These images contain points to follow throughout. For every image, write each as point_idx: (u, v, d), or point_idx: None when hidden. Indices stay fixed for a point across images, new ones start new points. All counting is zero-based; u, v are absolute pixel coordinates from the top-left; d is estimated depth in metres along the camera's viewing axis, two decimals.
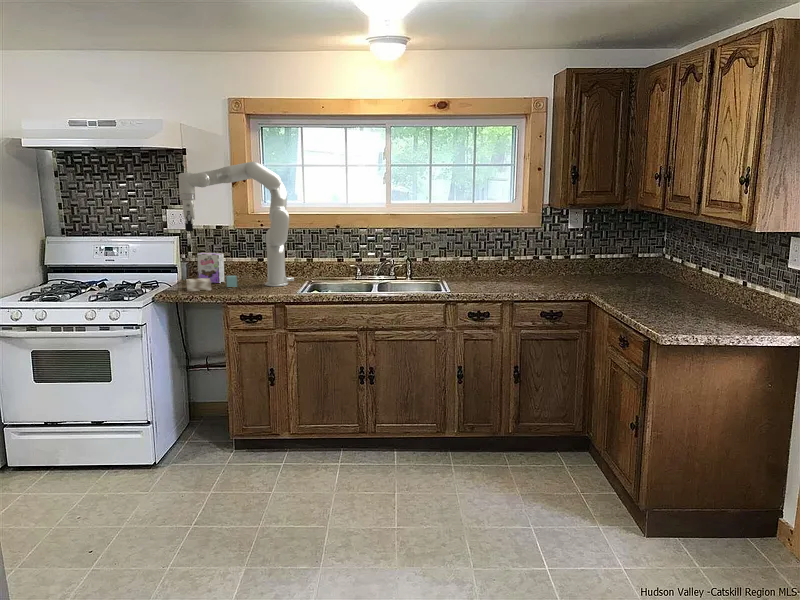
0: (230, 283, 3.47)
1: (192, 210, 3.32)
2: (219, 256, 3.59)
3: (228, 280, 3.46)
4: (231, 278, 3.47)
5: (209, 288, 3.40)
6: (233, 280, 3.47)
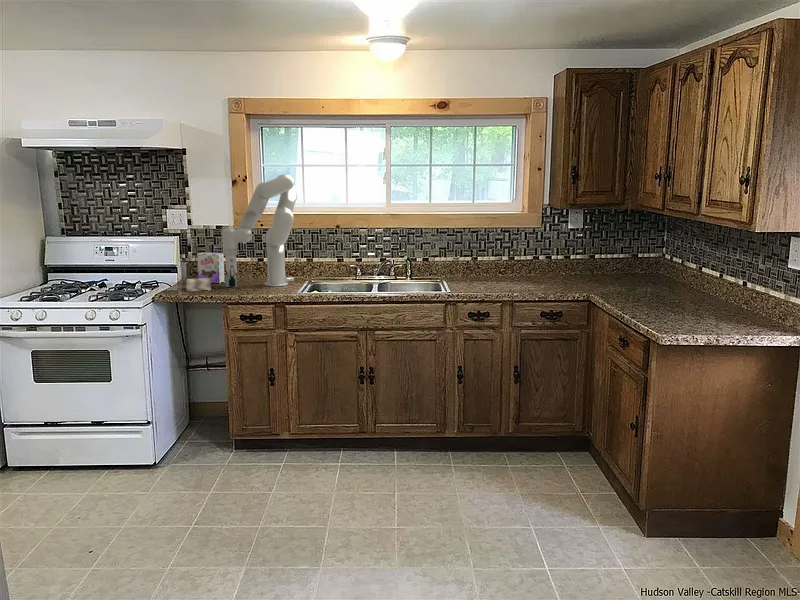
0: None
1: (235, 265, 3.44)
2: (219, 256, 3.59)
3: (228, 280, 3.46)
4: None
5: (208, 288, 3.40)
6: None
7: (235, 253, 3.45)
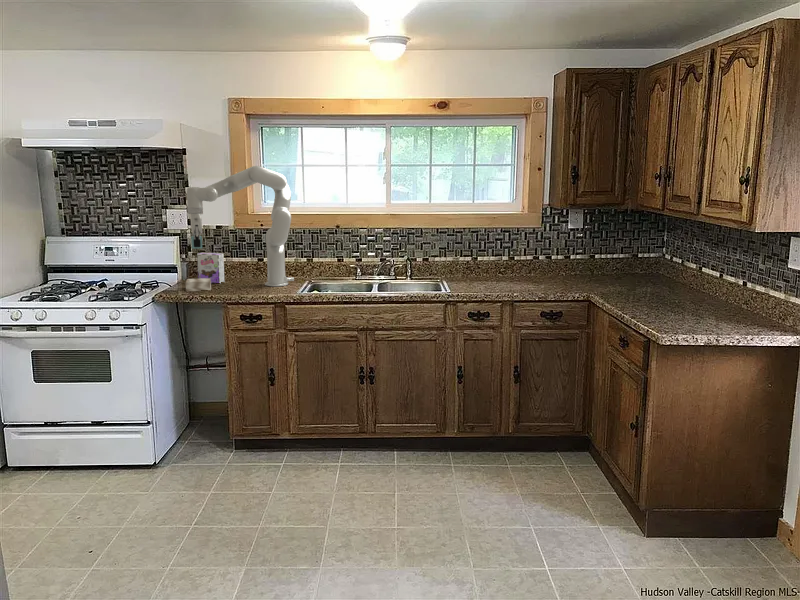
0: None
1: (200, 224, 3.34)
2: (219, 256, 3.59)
3: (193, 240, 3.36)
4: None
5: (208, 288, 3.39)
6: None
7: (200, 212, 3.35)
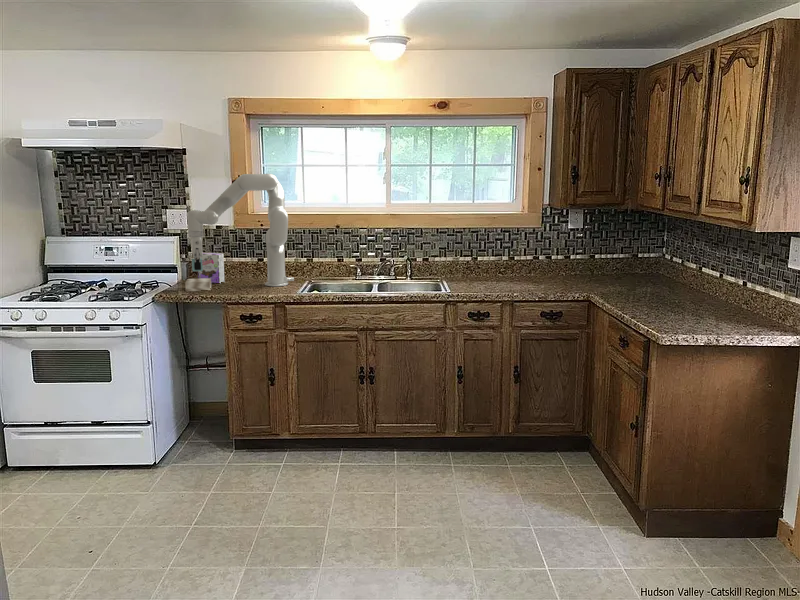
0: None
1: (200, 247, 3.36)
2: (219, 256, 3.59)
3: (193, 263, 3.39)
4: None
5: (207, 288, 3.39)
6: None
7: (201, 235, 3.37)
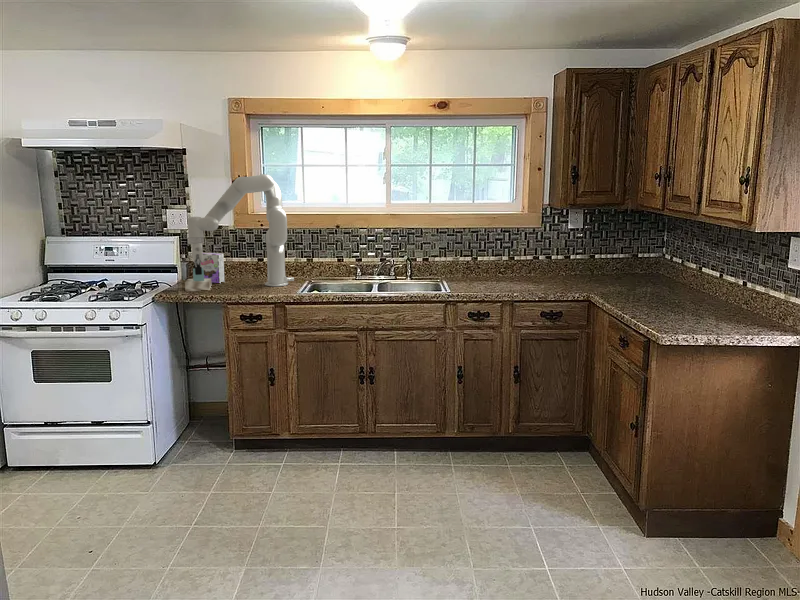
0: (197, 276, 3.40)
1: (201, 254, 3.37)
2: (219, 256, 3.59)
3: None
4: None
5: (207, 289, 3.39)
6: None
7: (201, 242, 3.38)
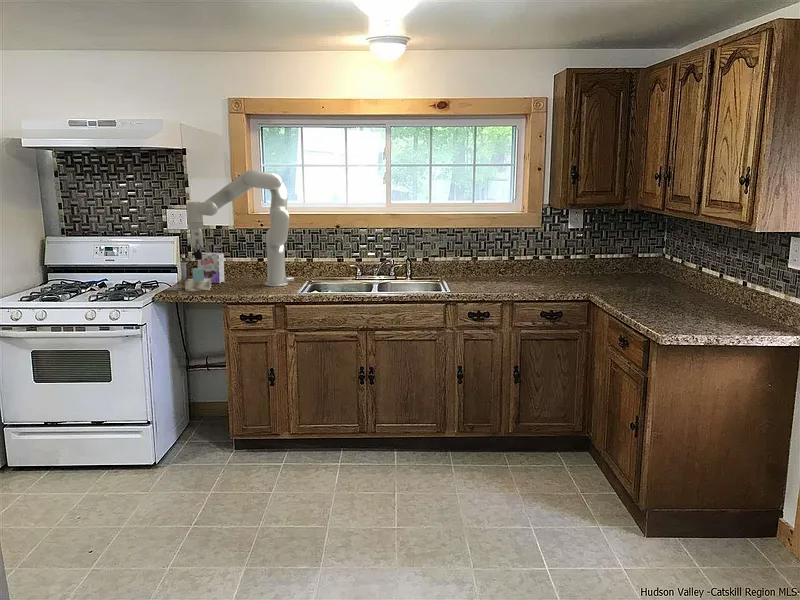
0: (197, 276, 3.40)
1: (201, 238, 3.35)
2: (219, 256, 3.59)
3: (194, 273, 3.40)
4: (198, 271, 3.40)
5: (207, 288, 3.39)
6: (200, 273, 3.41)
7: (200, 227, 3.36)
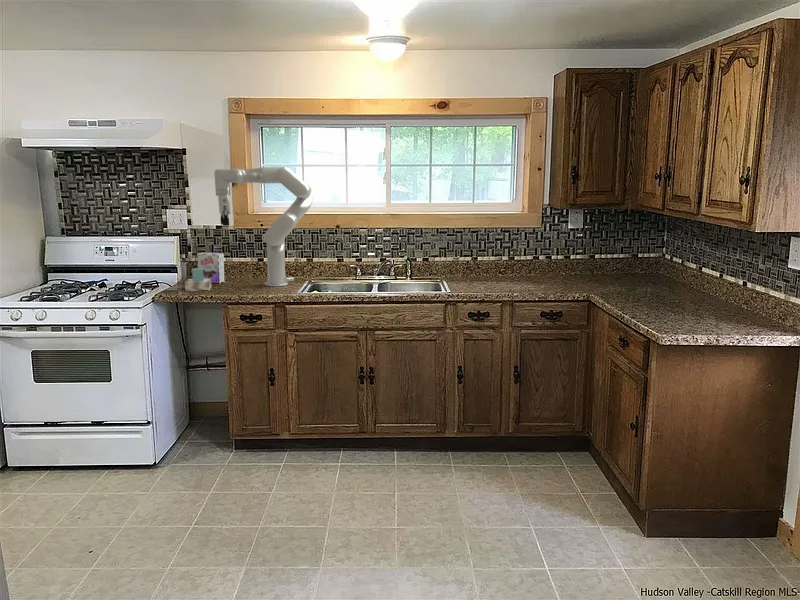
0: (196, 276, 3.40)
1: (228, 205, 3.45)
2: (219, 256, 3.59)
3: (194, 273, 3.39)
4: (197, 271, 3.40)
5: (207, 288, 3.39)
6: (199, 273, 3.41)
7: (228, 193, 3.46)
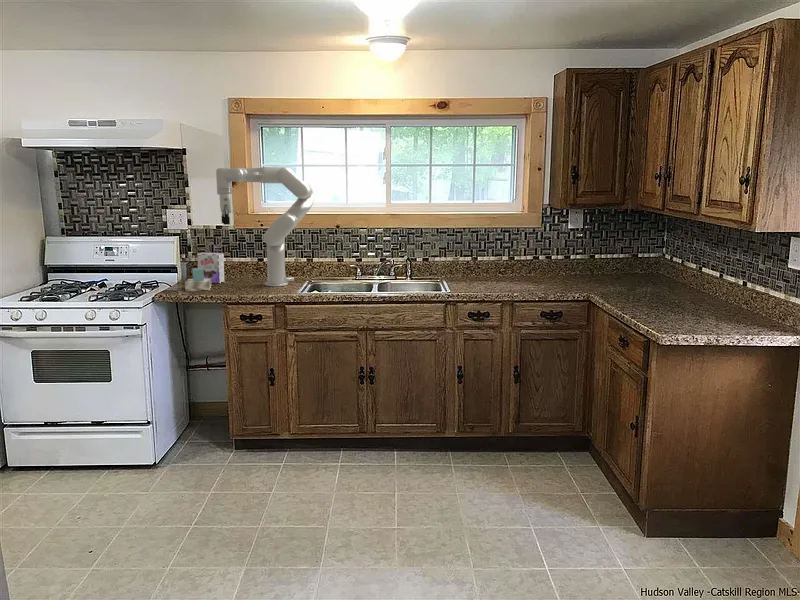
0: (196, 276, 3.40)
1: (229, 204, 3.45)
2: (219, 256, 3.59)
3: (194, 273, 3.40)
4: (197, 271, 3.40)
5: (207, 288, 3.39)
6: (199, 273, 3.41)
7: (229, 192, 3.46)
